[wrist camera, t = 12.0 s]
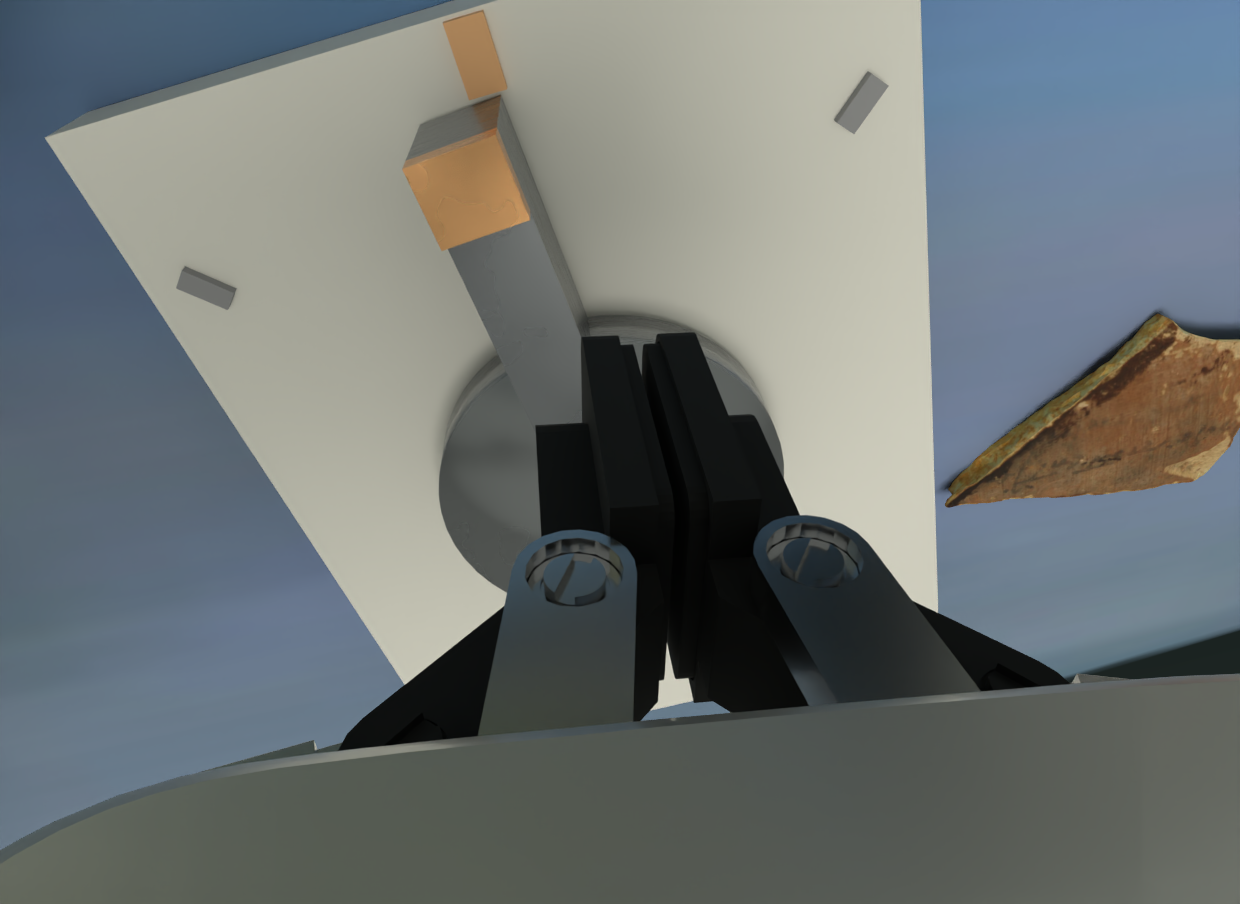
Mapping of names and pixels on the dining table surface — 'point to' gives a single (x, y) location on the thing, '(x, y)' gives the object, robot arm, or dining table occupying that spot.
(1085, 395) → the shard
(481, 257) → the dial
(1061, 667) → the dining table surface
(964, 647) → the robot arm
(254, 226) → the board
